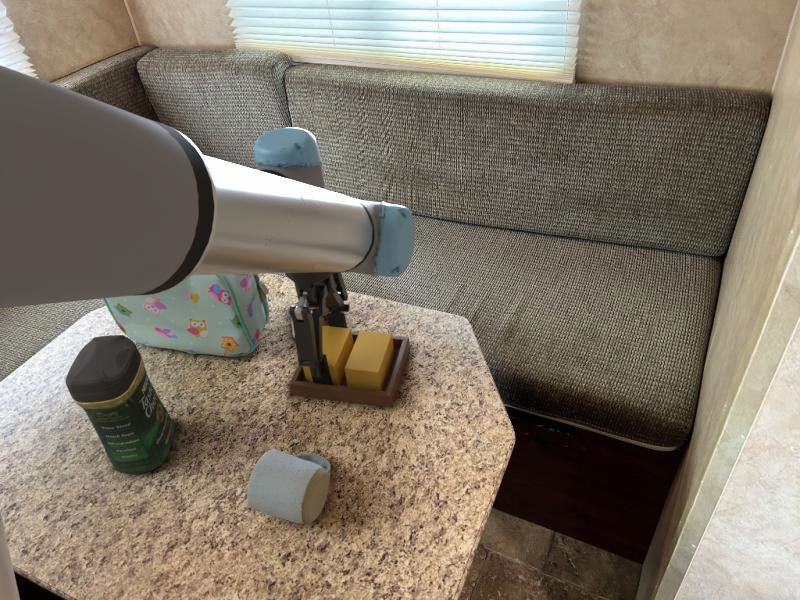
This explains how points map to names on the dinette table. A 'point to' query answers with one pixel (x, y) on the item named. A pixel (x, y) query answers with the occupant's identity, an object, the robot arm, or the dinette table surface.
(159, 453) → the coffee jar
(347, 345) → the pad loose
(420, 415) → the dinette table surface
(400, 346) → the frame
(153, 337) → the lunch box
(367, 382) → the pad seated
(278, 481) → the ceramic mug
